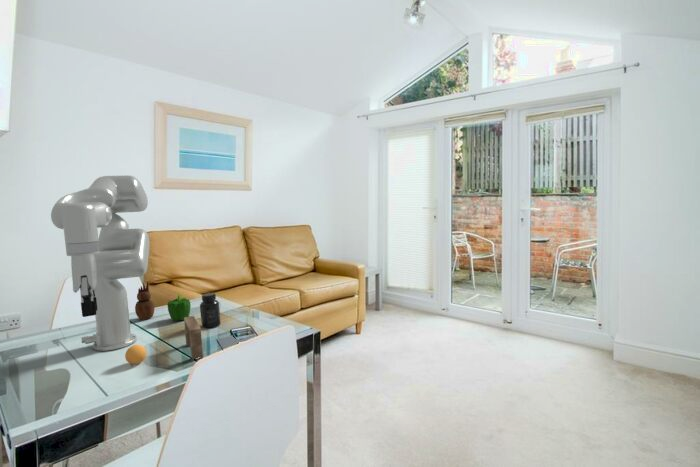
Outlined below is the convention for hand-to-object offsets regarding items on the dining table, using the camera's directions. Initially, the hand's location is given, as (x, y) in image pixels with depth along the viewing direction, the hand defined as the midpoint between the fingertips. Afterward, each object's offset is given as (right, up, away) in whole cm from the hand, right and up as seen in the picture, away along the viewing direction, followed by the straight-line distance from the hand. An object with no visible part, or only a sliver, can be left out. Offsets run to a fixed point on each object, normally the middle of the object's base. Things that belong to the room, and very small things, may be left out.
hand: (90, 313), depth 108 cm
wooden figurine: (-10, -12, +49) cm, 52 cm away
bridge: (+23, -15, +15) cm, 31 cm away
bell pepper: (+5, -12, +47) cm, 48 cm away
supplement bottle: (+20, -13, +38) cm, 45 cm away
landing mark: (+35, -14, +21) cm, 44 cm away
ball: (+9, -14, +6) cm, 18 cm away
